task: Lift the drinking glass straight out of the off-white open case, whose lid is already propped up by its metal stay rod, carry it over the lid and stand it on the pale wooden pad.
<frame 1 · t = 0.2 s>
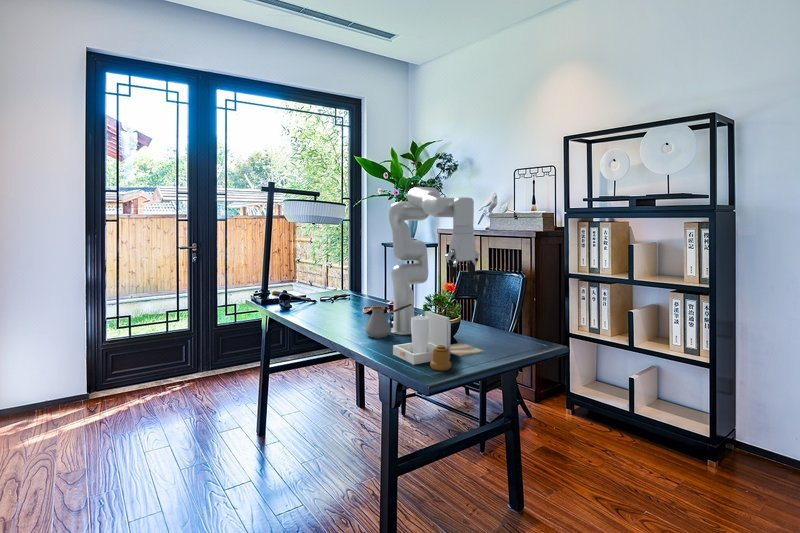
hand: (462, 276, 179), 31 cm above the table, tool pointing down, fingers open, 9 cm apart
ornamental finial: (440, 368, 167), on the table
wooden pad: (460, 350, 190), on the table
drinking glass: (419, 356, 181), resting in open case
open case: (419, 356, 181), on the table
coffee pot: (389, 336, 212), on the table
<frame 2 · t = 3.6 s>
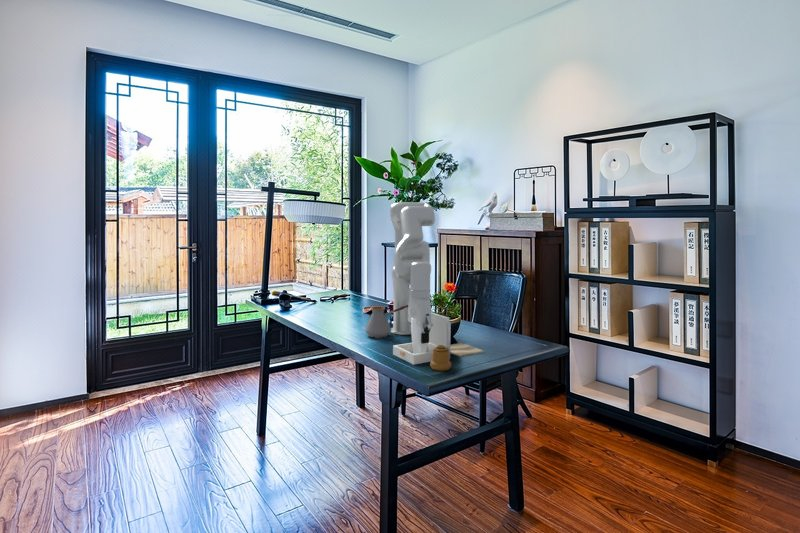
hand: (419, 340, 180), 6 cm above the table, tool pointing down, fingers closed on drinking glass, 6 cm apart
drinking glass: (419, 356, 181), resting in open case, touching gripper
everything else where it was.
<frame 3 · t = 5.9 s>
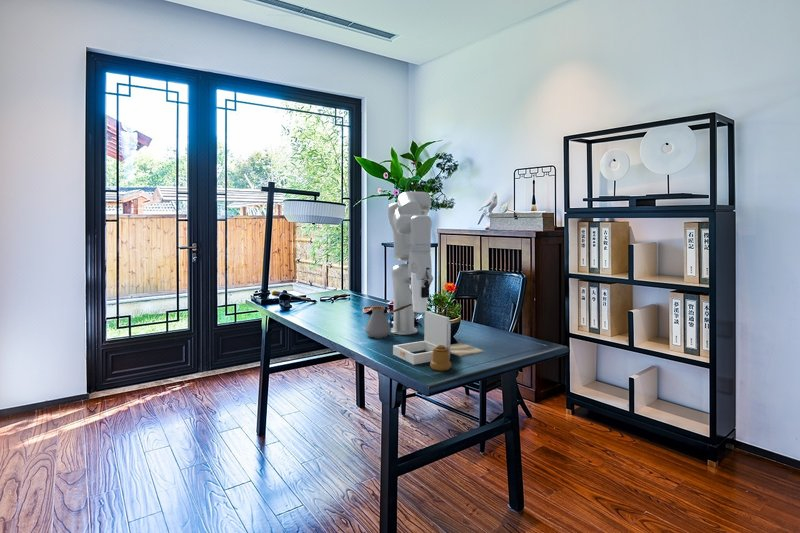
hand: (419, 295, 179), 23 cm above the table, tool pointing down, fingers closed on drinking glass, 6 cm apart
drinking glass: (419, 312, 180), point 17 cm above the table, touching gripper
everything else where it was.
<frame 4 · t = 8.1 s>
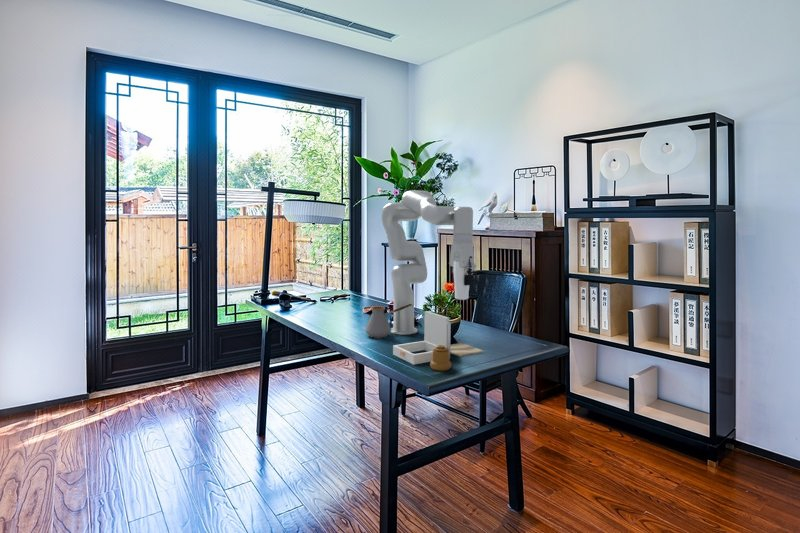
hand: (461, 283, 187), 27 cm above the table, tool pointing down, fingers closed on drinking glass, 6 cm apart
drinking glass: (461, 299, 188), point 21 cm above the table, touching gripper
everything else where it was.
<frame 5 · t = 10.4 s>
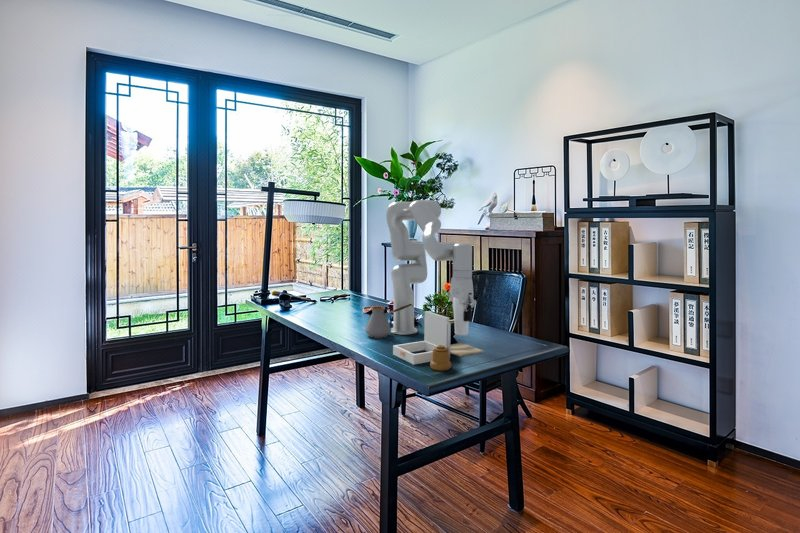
hand: (461, 318, 188), 13 cm above the table, tool pointing down, fingers closed on drinking glass, 6 cm apart
drinking glass: (461, 334, 189), point 6 cm above the table, touching gripper
everything else where it was.
when the fingers open (8 cm above the table, at t = 12.4 s): drinking glass drops 1 cm, resting on wooden pad.
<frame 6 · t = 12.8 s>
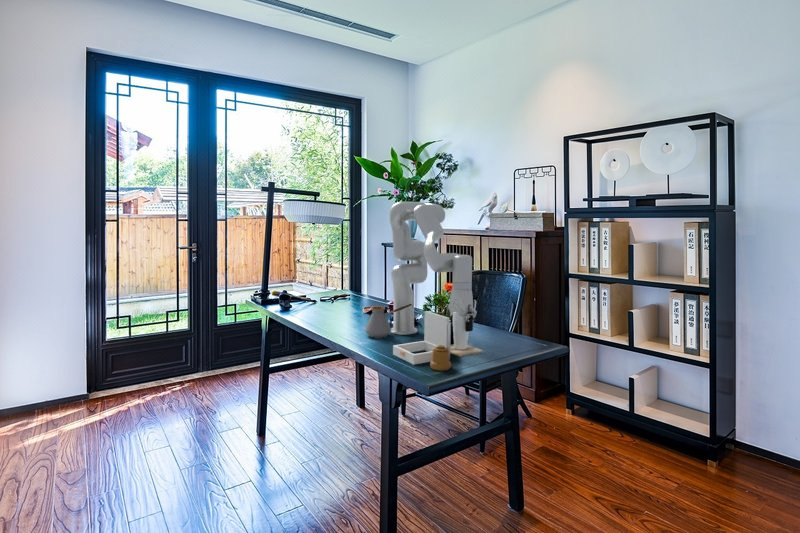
hand: (461, 328, 189), 9 cm above the table, tool pointing down, fingers open, 9 cm apart
drinking glass: (460, 349, 190), resting on wooden pad
everything else where it was.
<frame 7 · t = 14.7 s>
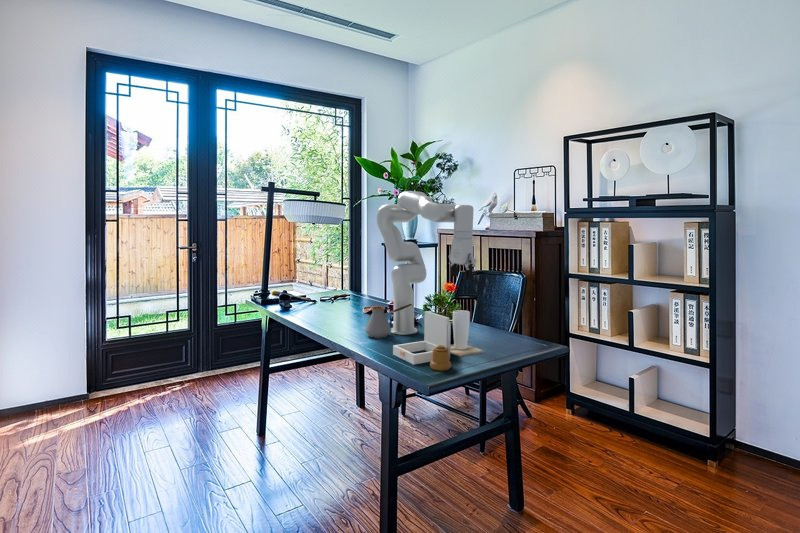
hand: (461, 278, 192), 28 cm above the table, tool pointing down, fingers open, 9 cm apart
nothing on the table moved.
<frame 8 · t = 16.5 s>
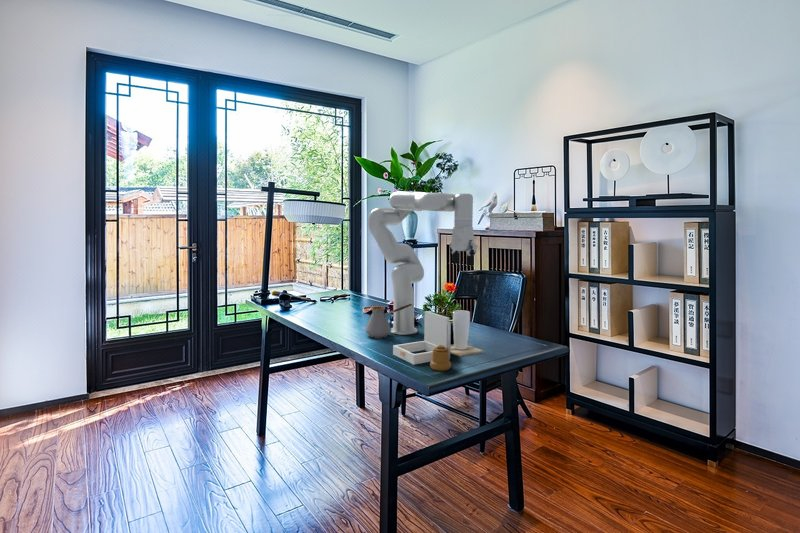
hand: (462, 264, 199), 33 cm above the table, tool pointing down, fingers open, 9 cm apart
nothing on the table moved.
at the end: drinking glass inside the target area on the wooden pad (0.3 cm from its centre), point 0.4 cm above the wooden pad's base; drinking glass tilted 0°; the gripper is holding nothing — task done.
